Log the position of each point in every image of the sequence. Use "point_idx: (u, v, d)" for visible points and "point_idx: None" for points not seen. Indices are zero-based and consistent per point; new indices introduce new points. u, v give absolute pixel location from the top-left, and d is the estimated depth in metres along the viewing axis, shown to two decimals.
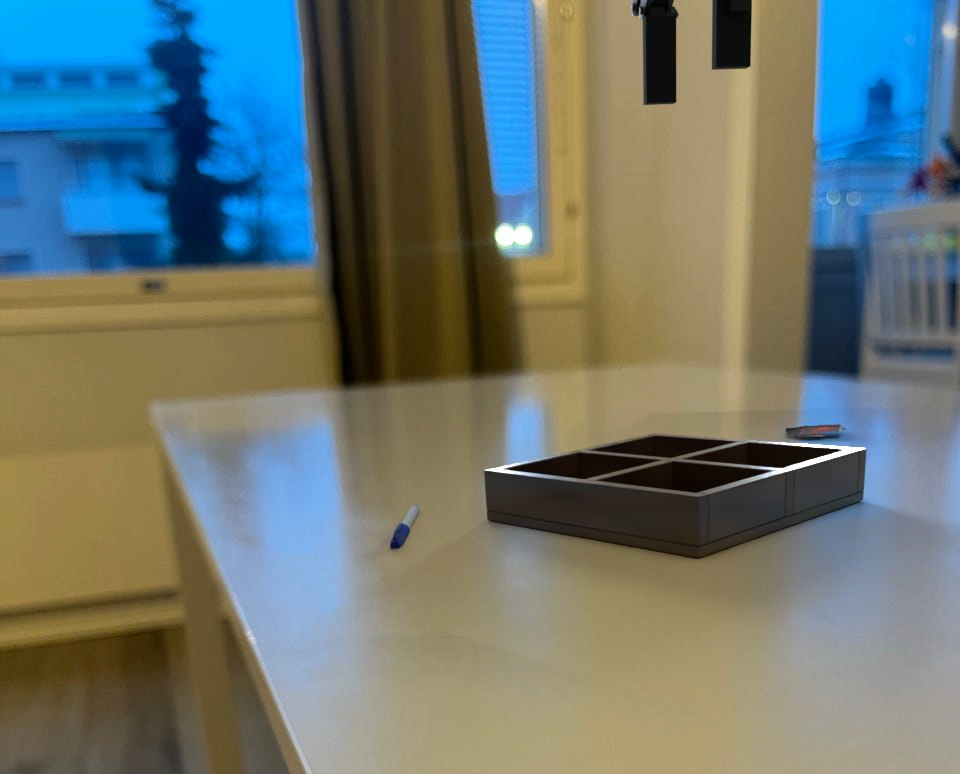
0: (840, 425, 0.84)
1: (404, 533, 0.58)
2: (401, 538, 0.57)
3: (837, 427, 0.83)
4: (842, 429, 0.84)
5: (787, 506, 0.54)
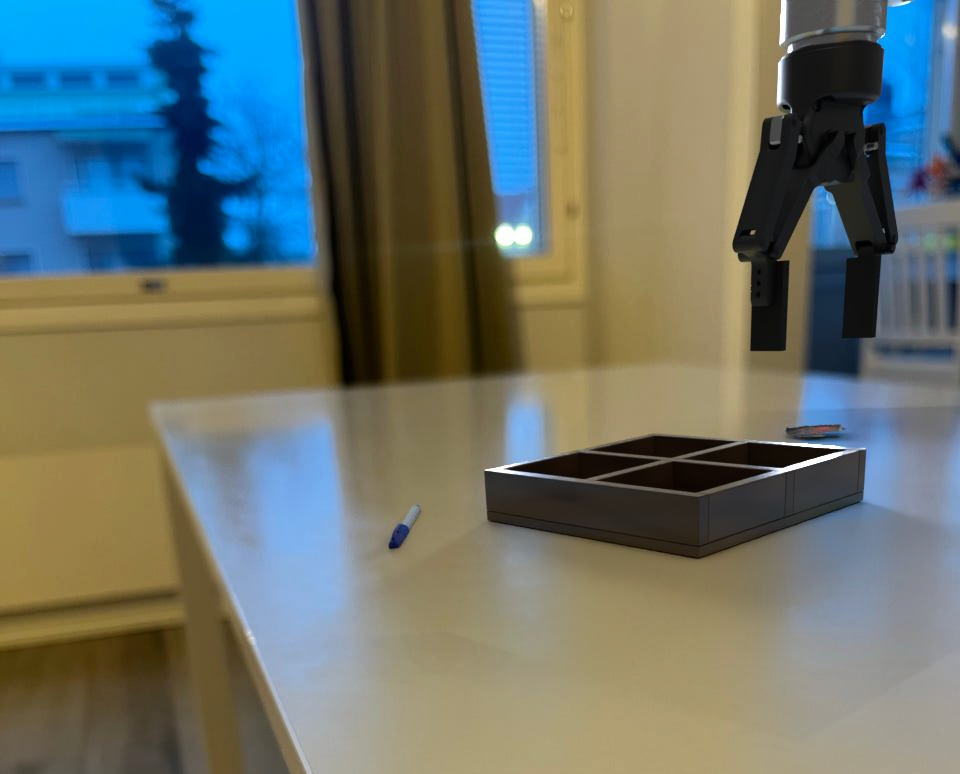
0: (840, 425, 0.84)
1: (403, 533, 0.58)
2: (400, 538, 0.57)
3: (837, 427, 0.83)
4: (842, 429, 0.84)
5: (787, 506, 0.54)
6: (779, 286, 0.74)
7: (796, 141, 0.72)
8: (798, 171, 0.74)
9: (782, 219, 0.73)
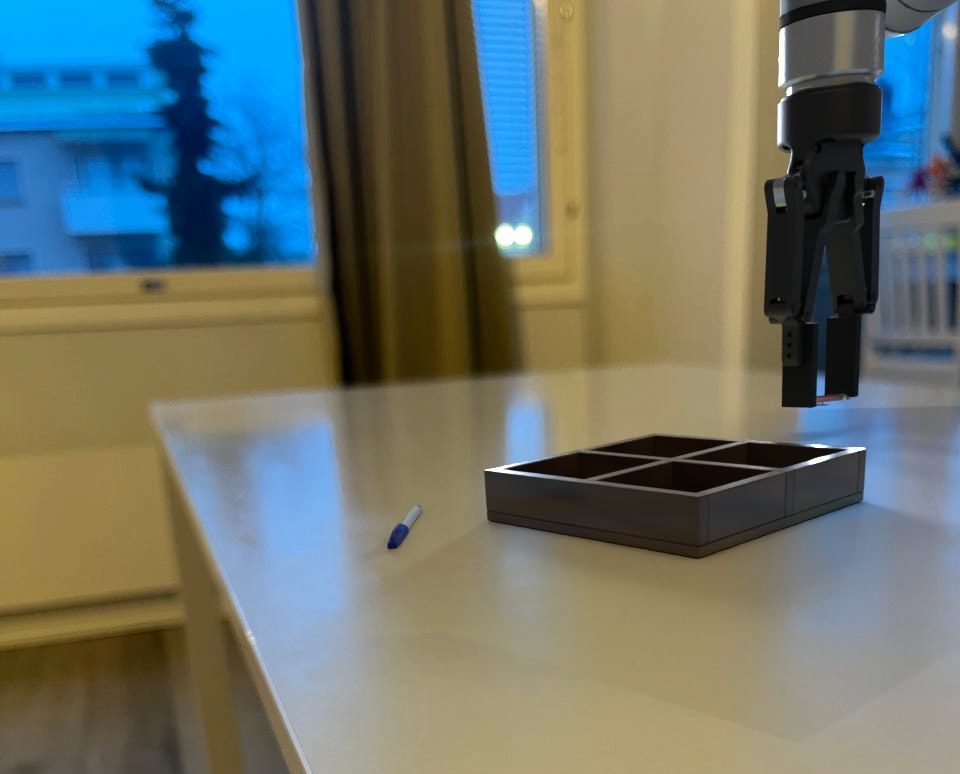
0: (844, 395, 0.83)
1: (402, 533, 0.58)
2: (399, 538, 0.57)
3: (841, 396, 0.82)
4: (846, 399, 0.83)
5: (787, 506, 0.54)
6: (809, 347, 0.78)
7: (802, 199, 0.73)
8: (807, 223, 0.76)
9: (804, 281, 0.76)
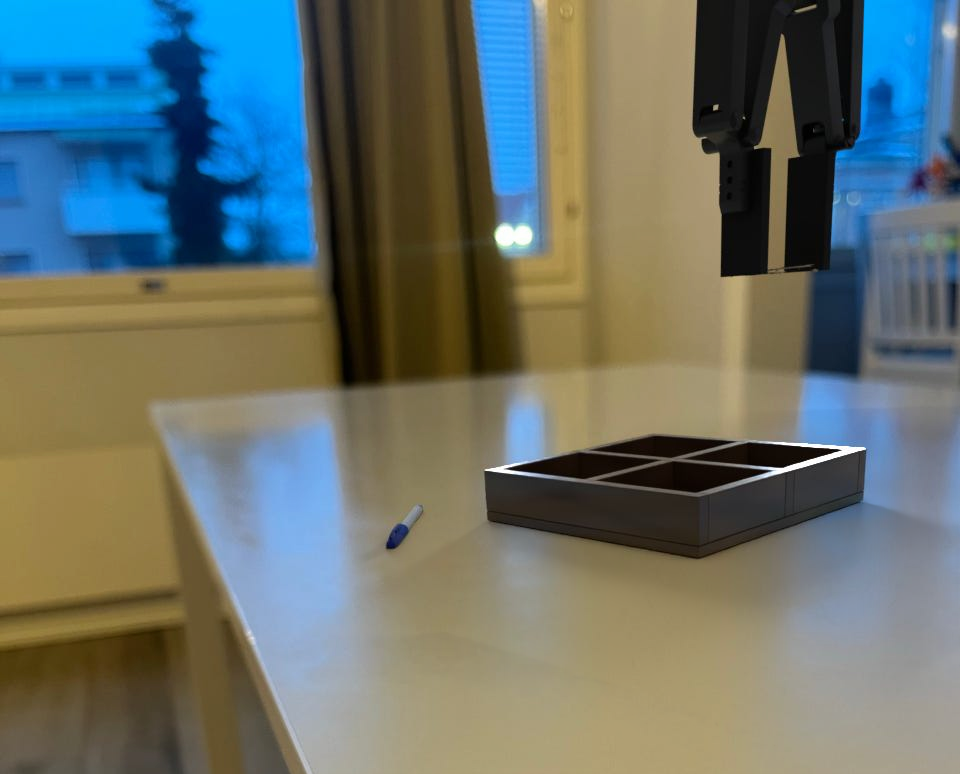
0: (809, 265, 0.59)
1: (401, 533, 0.58)
2: (397, 538, 0.57)
3: None
4: (812, 271, 0.59)
5: (787, 506, 0.54)
6: (757, 184, 0.55)
7: None
8: None
9: (750, 84, 0.53)
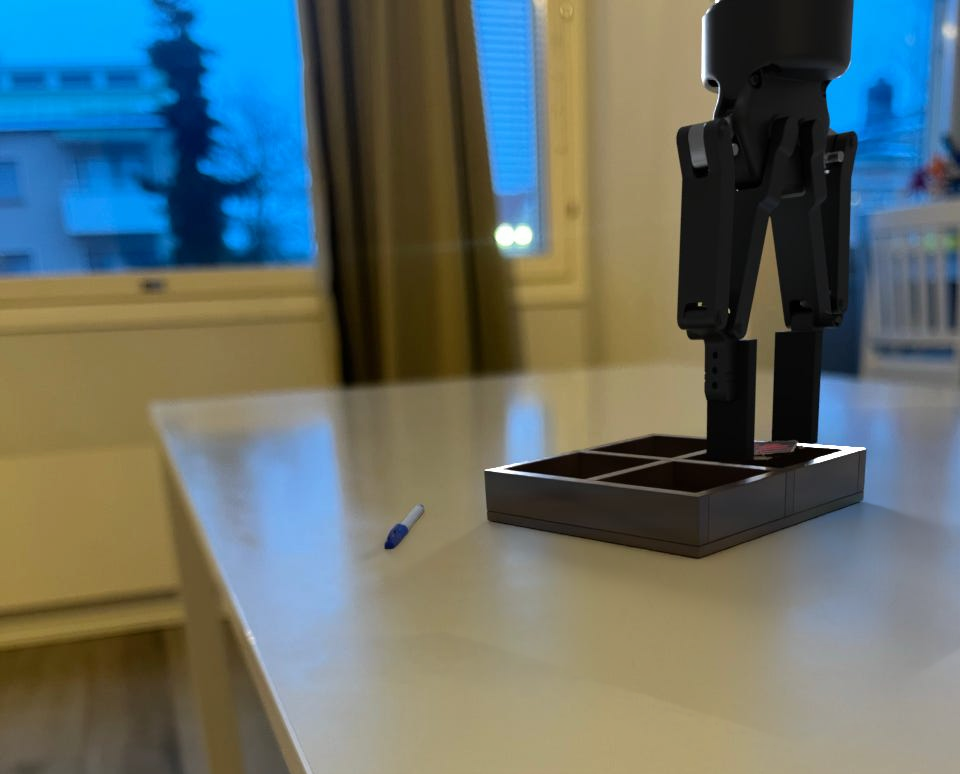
0: (796, 442, 0.59)
1: (401, 533, 0.58)
2: (396, 539, 0.57)
3: (791, 445, 0.58)
4: (799, 448, 0.59)
5: (787, 506, 0.54)
6: (743, 374, 0.54)
7: (731, 156, 0.49)
8: (742, 193, 0.52)
9: (736, 279, 0.52)
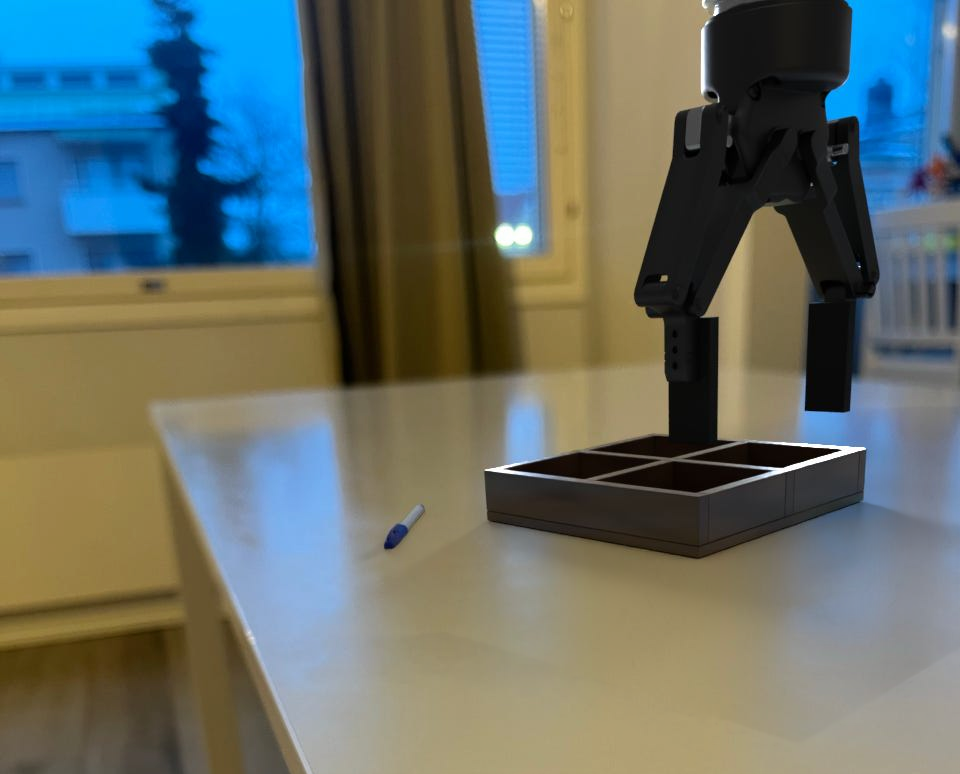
0: None
1: (400, 533, 0.58)
2: (395, 539, 0.57)
3: None
4: None
5: (787, 506, 0.54)
6: (705, 354, 0.51)
7: (723, 144, 0.49)
8: (730, 187, 0.51)
9: (706, 258, 0.50)
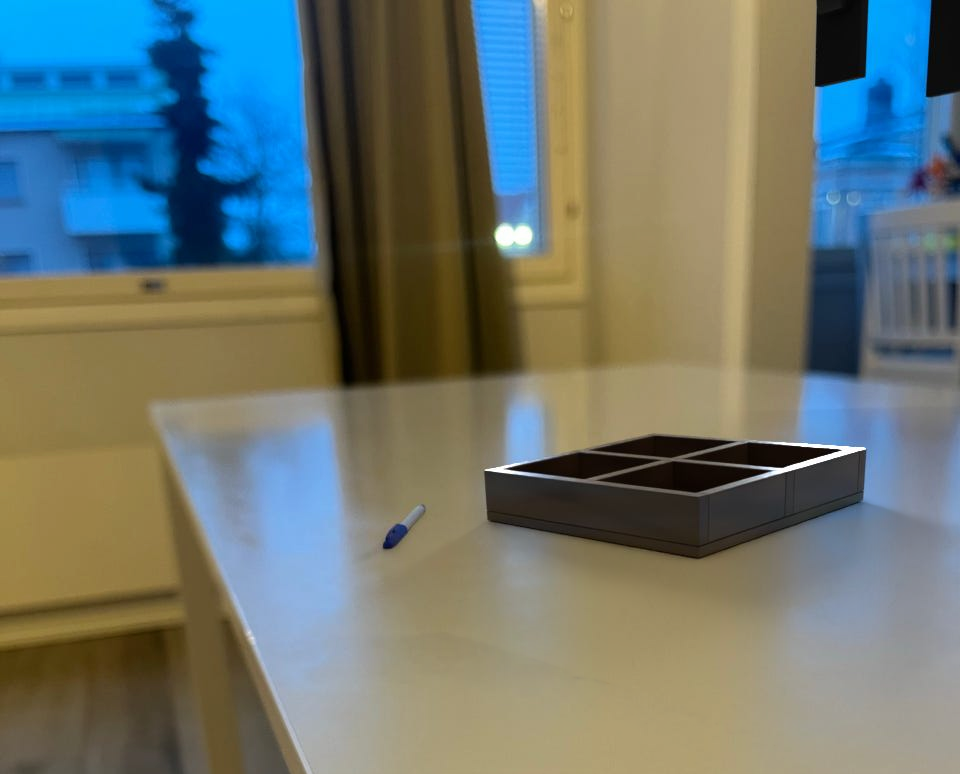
0: None
1: (399, 533, 0.58)
2: (395, 539, 0.57)
3: None
4: None
5: (787, 506, 0.54)
6: None
7: None
8: None
9: None
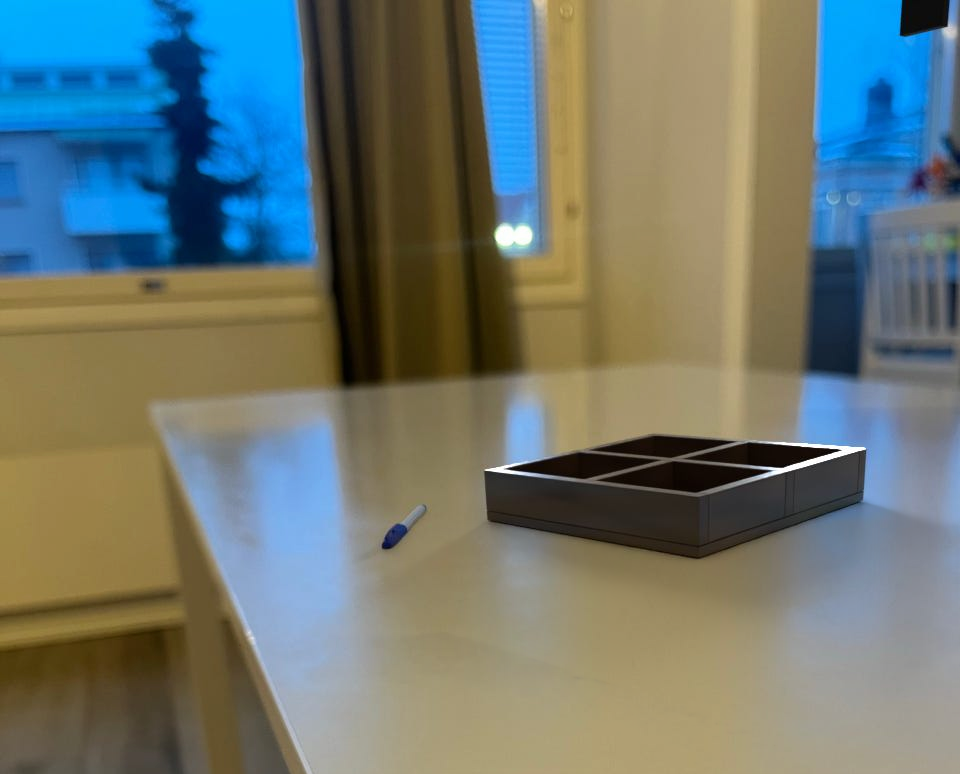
0: None
1: (399, 533, 0.58)
2: (394, 539, 0.57)
3: None
4: None
5: (787, 506, 0.54)
6: None
7: None
8: None
9: None
